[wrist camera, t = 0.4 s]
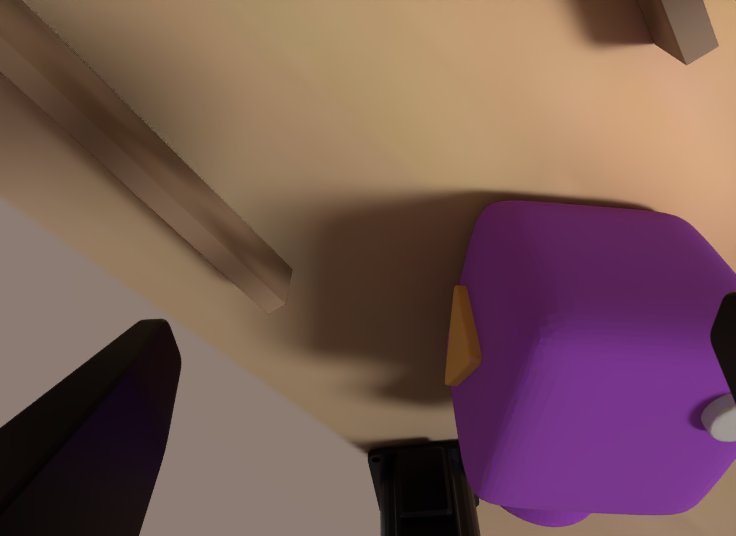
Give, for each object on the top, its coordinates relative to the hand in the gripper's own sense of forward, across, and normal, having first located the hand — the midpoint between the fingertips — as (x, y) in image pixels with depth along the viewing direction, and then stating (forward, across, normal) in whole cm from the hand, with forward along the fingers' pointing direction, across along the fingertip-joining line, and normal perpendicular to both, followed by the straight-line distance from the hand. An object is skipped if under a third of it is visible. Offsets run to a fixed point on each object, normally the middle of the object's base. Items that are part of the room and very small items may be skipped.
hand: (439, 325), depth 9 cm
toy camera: (+14, -7, +12) cm, 20 cm away
